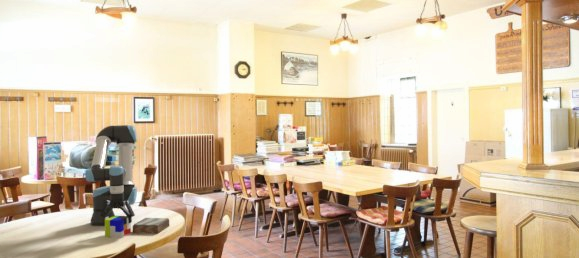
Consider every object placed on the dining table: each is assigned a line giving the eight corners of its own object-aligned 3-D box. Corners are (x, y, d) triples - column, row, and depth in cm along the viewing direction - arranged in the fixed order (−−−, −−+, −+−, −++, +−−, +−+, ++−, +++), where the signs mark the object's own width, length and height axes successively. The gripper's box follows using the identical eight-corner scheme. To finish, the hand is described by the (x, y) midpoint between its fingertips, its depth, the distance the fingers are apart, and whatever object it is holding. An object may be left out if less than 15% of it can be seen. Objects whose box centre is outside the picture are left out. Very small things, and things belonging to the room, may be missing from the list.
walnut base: (132, 232, 241) (132, 224, 240) (145, 225, 256) (145, 217, 256) (158, 233, 239) (158, 225, 238) (169, 225, 255) (169, 218, 254)
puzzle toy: (120, 237, 232) (120, 220, 231) (105, 236, 234) (104, 219, 233) (130, 232, 241) (130, 216, 241) (115, 231, 243) (115, 215, 243)
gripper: (93, 193, 234) (94, 229, 235) (133, 193, 231) (134, 230, 232) (100, 191, 242) (101, 226, 242) (140, 191, 239) (141, 226, 239)
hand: (117, 228), depth 237 cm, fingers open, 13 cm apart
